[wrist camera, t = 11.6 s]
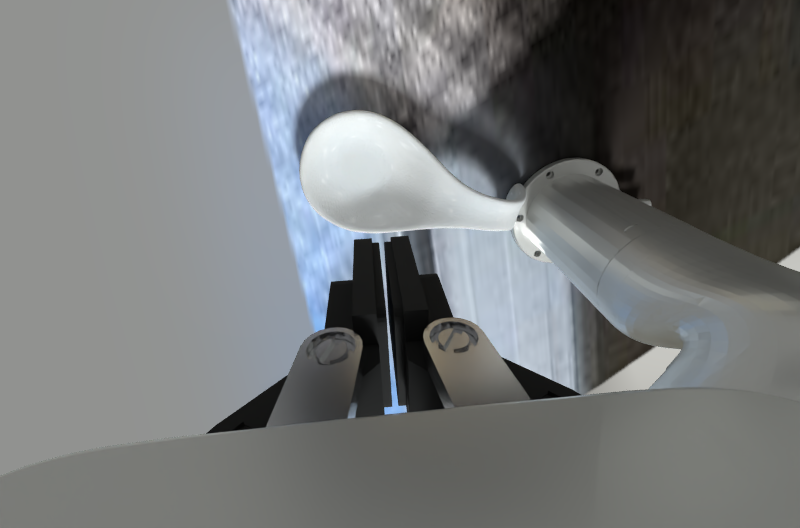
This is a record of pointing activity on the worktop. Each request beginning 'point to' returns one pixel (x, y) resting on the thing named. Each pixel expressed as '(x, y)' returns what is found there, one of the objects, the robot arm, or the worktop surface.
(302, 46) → the worktop surface
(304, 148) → the spoon rest
